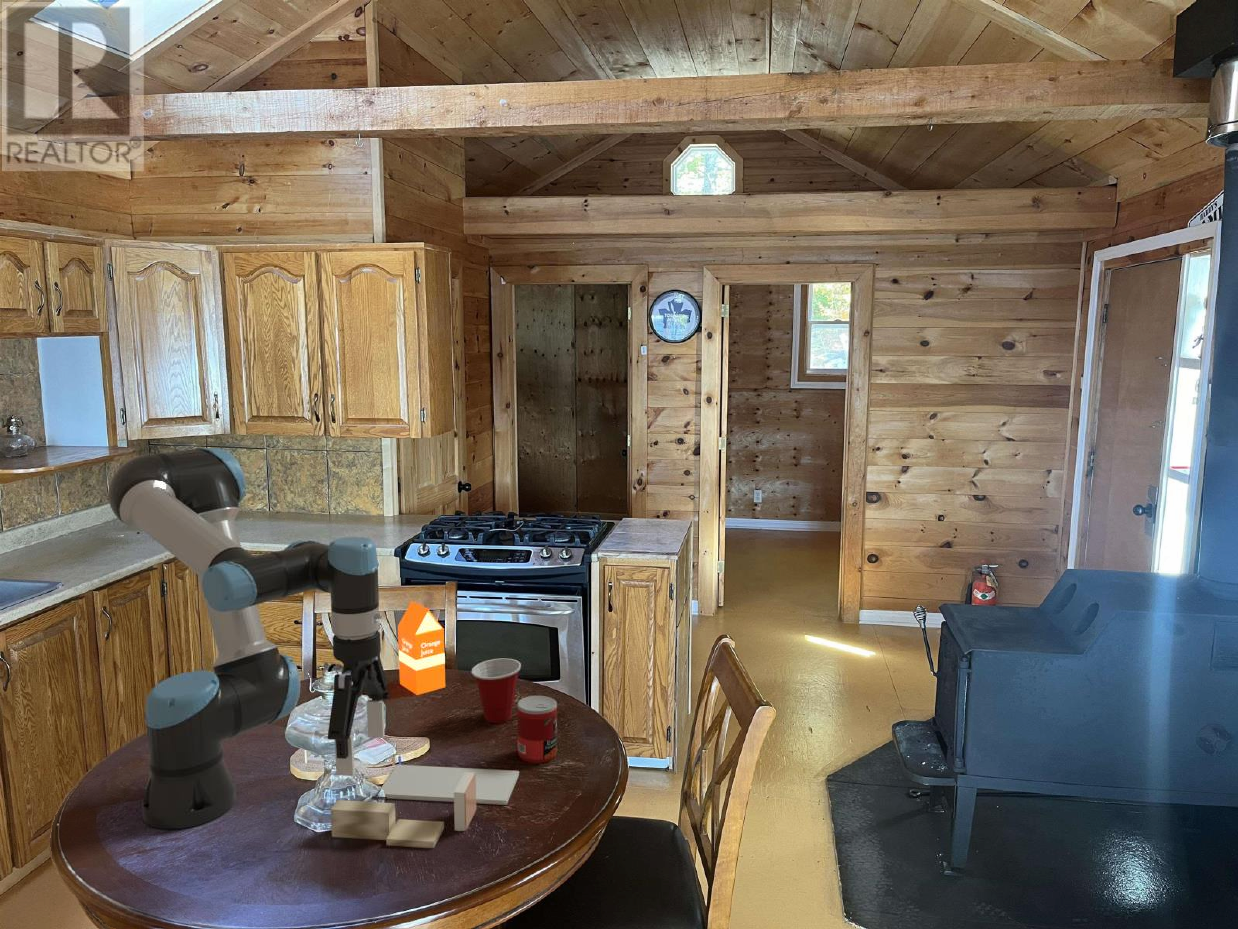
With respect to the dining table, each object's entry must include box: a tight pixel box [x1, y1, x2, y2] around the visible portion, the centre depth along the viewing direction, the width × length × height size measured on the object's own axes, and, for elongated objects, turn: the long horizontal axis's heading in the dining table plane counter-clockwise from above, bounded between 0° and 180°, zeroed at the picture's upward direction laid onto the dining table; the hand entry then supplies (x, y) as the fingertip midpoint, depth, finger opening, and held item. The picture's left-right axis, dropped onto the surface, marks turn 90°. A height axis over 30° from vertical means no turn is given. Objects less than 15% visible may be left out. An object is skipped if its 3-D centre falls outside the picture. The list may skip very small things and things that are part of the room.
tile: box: [453, 772, 477, 832], centre depth 155 cm, size 2×7×7 cm, turn 175°
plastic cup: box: [471, 657, 522, 724], centre depth 195 cm, size 11×11×12 cm
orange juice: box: [397, 600, 446, 696], centre depth 213 cm, size 8×9×20 cm
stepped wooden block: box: [330, 799, 445, 849], centre depth 150 cm, size 18×6×5 cm, turn 85°
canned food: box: [516, 695, 558, 764], centre depth 179 cm, size 8×8×11 cm
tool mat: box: [380, 764, 520, 806], centre depth 167 cm, size 24×11×1 cm, turn 85°
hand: (361, 755), depth 149 cm, fingers open, 13 cm apart
